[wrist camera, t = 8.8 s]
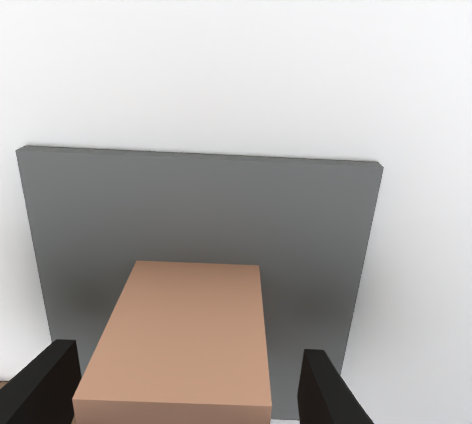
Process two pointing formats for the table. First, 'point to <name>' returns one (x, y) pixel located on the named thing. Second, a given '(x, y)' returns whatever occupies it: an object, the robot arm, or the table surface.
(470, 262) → the table surface
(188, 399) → the block
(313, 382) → the robot arm
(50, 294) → the rubber mat
